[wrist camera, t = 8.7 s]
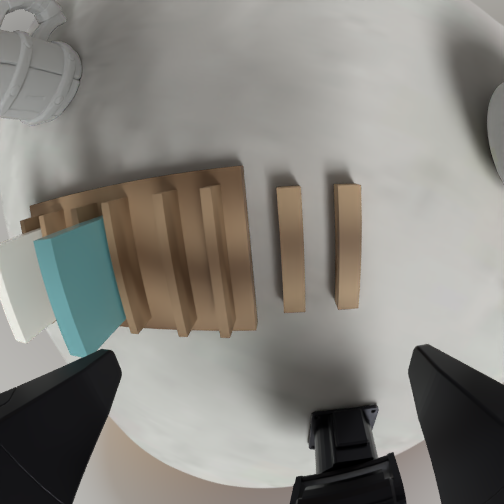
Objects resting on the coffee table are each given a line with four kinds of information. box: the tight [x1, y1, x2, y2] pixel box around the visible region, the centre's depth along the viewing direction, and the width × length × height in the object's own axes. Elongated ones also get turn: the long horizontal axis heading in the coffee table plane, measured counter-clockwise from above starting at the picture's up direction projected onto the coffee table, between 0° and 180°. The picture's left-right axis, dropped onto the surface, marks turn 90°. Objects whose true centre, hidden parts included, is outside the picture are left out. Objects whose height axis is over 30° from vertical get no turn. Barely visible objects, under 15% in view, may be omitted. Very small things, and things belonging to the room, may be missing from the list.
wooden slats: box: [276, 184, 362, 313], centre depth 17 cm, size 8×5×2 cm, turn 5°
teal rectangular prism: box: [33, 215, 126, 357], centre depth 16 cm, size 7×2×7 cm, turn 5°
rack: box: [20, 166, 258, 338], centre depth 18 cm, size 11×19×4 cm, turn 95°
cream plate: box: [0, 228, 56, 344], centre depth 16 cm, size 7×2×7 cm, turn 5°
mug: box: [0, 0, 82, 126], centre depth 10 cm, size 8×12×12 cm, turn 173°
